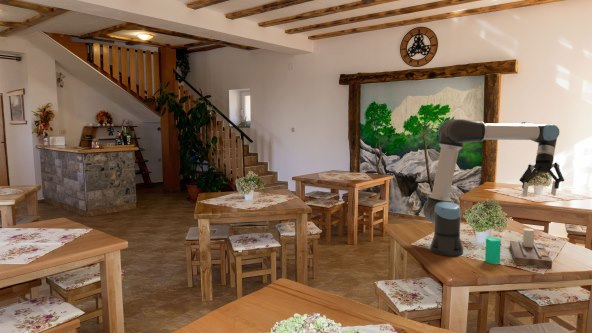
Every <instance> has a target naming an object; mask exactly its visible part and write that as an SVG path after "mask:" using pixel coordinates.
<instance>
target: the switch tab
mask: <svg viewBox="0 0 592 333" xmlns="http://www.w3.org/2000/svg"><path fill="white" fill-rule="evenodd" d="M522 233H523V234H522V242H523V246H524V247H533V244H534V242H535V241H534V240H535V230H534V229H533V228H523V232H522Z"/></svg>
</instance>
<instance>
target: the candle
mask: <svg viewBox="0 0 592 333" xmlns="http://www.w3.org/2000/svg"><path fill="white" fill-rule="evenodd" d="M501 241H502V239H500V238H499V237H494V235H493V236H491V237H490V236H486V237H485V254H484V256H485V258H484V259H485V262H486V263H488V264H493V265H494V264H495V265H497V264H500V262H501V246H502V245H501V244H502V243H501Z"/></svg>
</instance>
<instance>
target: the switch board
mask: <svg viewBox="0 0 592 333" xmlns="http://www.w3.org/2000/svg"><path fill="white" fill-rule="evenodd" d="M509 248H510V251H511V254H512V258H513V262H514V264H515V265H521V266H522V265H523V266H530V265H531V266H530V267H532V266H533V267H541V268H548V269H549V268H550V269H552V268H553V259H552V258H551V256H550V254H549V253H548V251H547V250H546V248H545V246H544V244H543V243H541V242H540V243H539V242H535V241H534V244H533V247H524V246H523V241H522V240H518V241H517V240H510V241H509Z"/></svg>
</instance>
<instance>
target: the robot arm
mask: <svg viewBox="0 0 592 333" xmlns="http://www.w3.org/2000/svg"><path fill="white" fill-rule="evenodd" d="M437 135H438V137H439V141H438V145H439V147H440V152H439V157H438V162H437V167H436V172H435V177H434V181H433V187H432V192H431V193H430V194H428V197H427V201H425V202H424V204H423V206H422V213H423V214H422V215H423V216H424V217H425V218H426V220H427V221H428V222H430V223H432V224H433V225H434V230H433V231H434V235H433V237H432V240H431V243H430V246H429V249H430V252H431V253H433V254H436V255H440V256H448V257H456V256H461V255H463V254H464V247H463V244H462V238H461V216H462V213H461V206H460V205H459V204H457V203H454V202H452V201H453V200H452V199H451V195H450V194H451V190H452V186H453V180H454V175H455V171H456V170H455V169H456V165H457V161H458V156H459V152H460V150H461V149H463V146H464V144H465V143H475V142H477V143H478V142H479V143H480V142H481V143H482V142H483V141H488V140H491V141H493V140H496V141H498V140H499V141H501V140H502V141H505V140H506V141H508V140H509V141H513V140H514V141H533V142H534V143H538V145H537V150H536V157H535V164H533V165H532V164H531V163H530V164H528V165H527V169H526V170H525V171H524V172H523V174H522V175H521V177H520V178H519V182H521V183H522V185H521V186H522V187H521V188H522V195H523V196H524V197H527V195H528V190H529V186H530V183H529V182H531V181H532V179H533V178H535V177H536V176H537V175H539V174H541V175H542V174H549V175H550V176H551V178H552V179H553V180H552V184H551V192H550V194H551V195H552V196H553V197H555V196H557V194H556V193H557V190H558V189H559V187H560V183H561V182H564V181H565V179H564V176H563V174H562V171H561V170H560V164H559V163H557V162H554V157H555V151H556V145H557V140H558V138H559V137H560V128H559V126H557V125H555V124H552V123H551V124H550V123H547V124H543V123H542V124H541V123H540V124H537V123H536V124H534V123H530V122H527V121H523V122H520V123H485V122H484V121H477V120H475V121H474V120H468V119H460V118H459V119H458V118H457V119H456V118H455V119H453V118H452V119H447V120H445V121H443V122H442V123H440V126H439V127H438V130H437ZM551 169H554V171H555V172H556V174H555V173H554V172H553V171H552V170H551ZM556 175H557V176H556Z"/></svg>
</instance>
